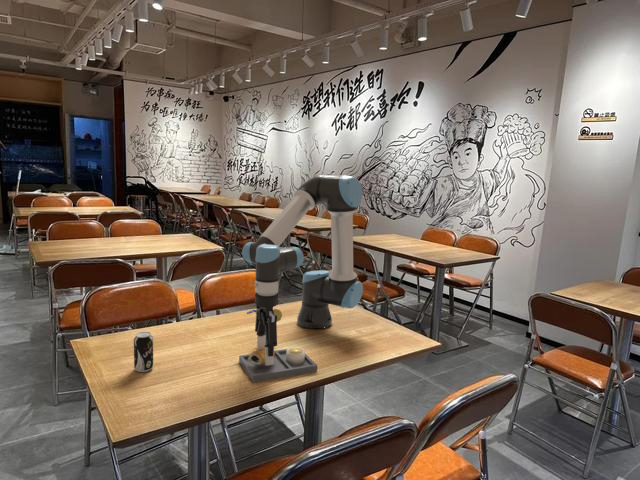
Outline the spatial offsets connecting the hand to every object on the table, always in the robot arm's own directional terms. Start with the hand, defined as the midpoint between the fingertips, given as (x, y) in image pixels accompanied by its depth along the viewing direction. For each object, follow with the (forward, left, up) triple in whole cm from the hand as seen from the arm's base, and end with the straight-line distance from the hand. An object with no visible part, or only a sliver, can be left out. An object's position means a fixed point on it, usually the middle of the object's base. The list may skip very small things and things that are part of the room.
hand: (265, 359), depth 147 cm
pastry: (0, -1, -1) cm, 1 cm away
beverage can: (-13, -37, -4) cm, 39 cm away
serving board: (0, +4, -3) cm, 6 cm away
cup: (-18, +5, -4) cm, 19 cm away
